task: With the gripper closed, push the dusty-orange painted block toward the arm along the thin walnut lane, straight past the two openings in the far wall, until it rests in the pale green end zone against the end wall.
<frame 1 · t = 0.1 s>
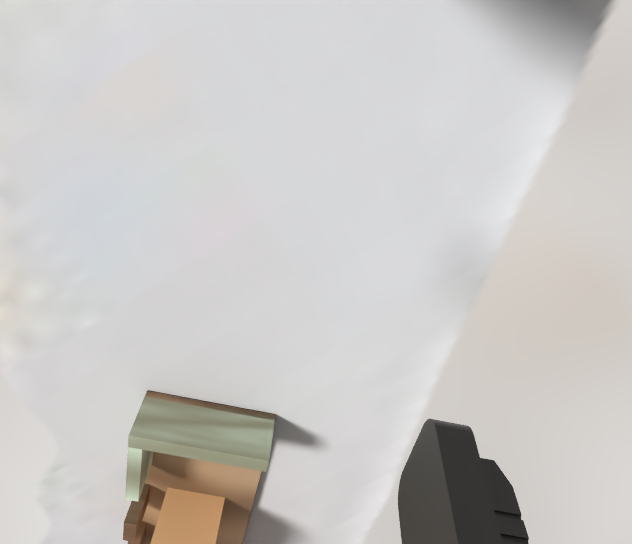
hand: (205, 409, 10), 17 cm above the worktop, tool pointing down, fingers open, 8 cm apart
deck: (198, 481, 39), on the worktop
block: (191, 521, 41), resting on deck
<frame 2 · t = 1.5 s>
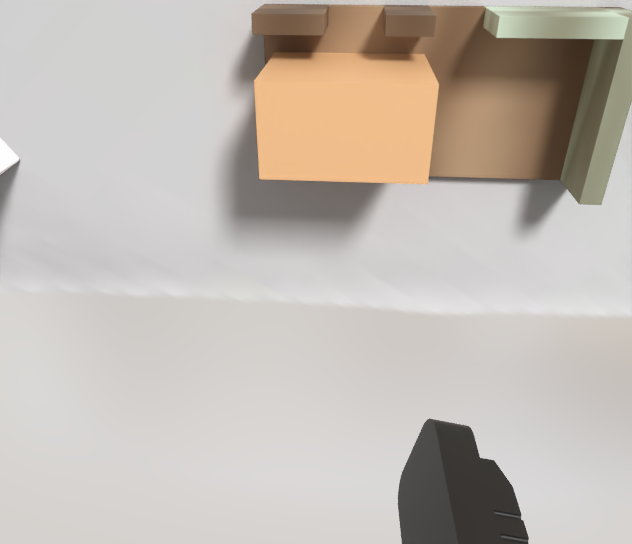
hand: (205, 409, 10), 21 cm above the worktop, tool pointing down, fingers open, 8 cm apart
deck: (429, 95, 28), on the worktop
block: (348, 96, 27), resting on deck
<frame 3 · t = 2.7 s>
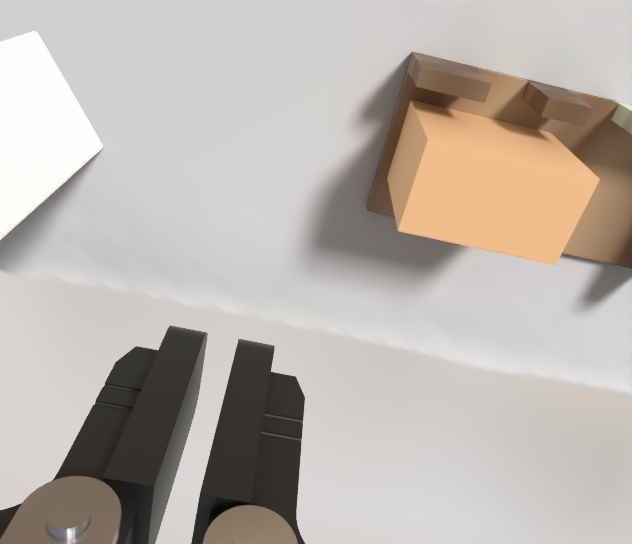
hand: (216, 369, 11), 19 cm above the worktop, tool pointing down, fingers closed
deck: (539, 169, 29), on the worktop
milk: (24, 111, 28), on the worktop
block: (466, 155, 28), resting on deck
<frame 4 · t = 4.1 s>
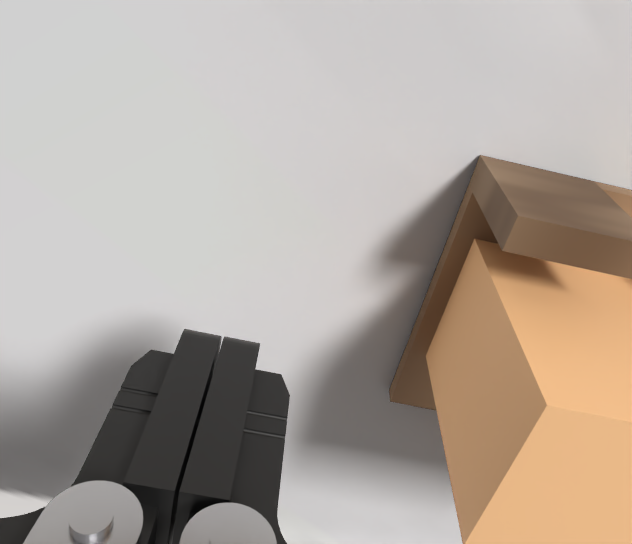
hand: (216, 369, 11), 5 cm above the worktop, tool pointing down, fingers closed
block: (567, 326, 16), resting on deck
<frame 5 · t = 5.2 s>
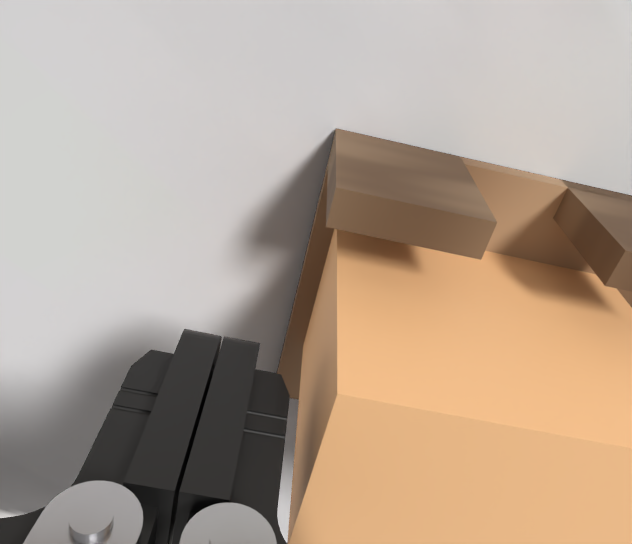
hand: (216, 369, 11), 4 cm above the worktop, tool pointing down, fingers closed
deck: (582, 330, 16), on the worktop
block: (447, 313, 15), resting on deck, touching gripper
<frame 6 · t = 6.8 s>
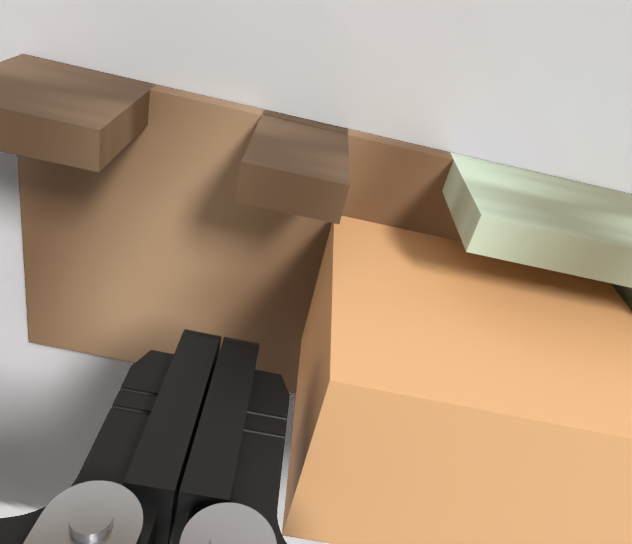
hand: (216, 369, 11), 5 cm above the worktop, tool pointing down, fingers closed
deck: (329, 274, 15), on the worktop
block: (444, 307, 15), resting on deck, touching gripper
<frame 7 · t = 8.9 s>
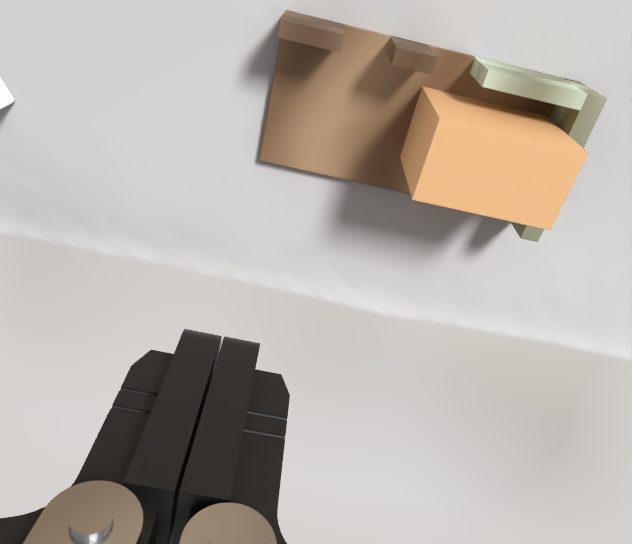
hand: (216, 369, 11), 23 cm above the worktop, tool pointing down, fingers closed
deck: (413, 121, 31), on the worktop
block: (471, 136, 31), resting on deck
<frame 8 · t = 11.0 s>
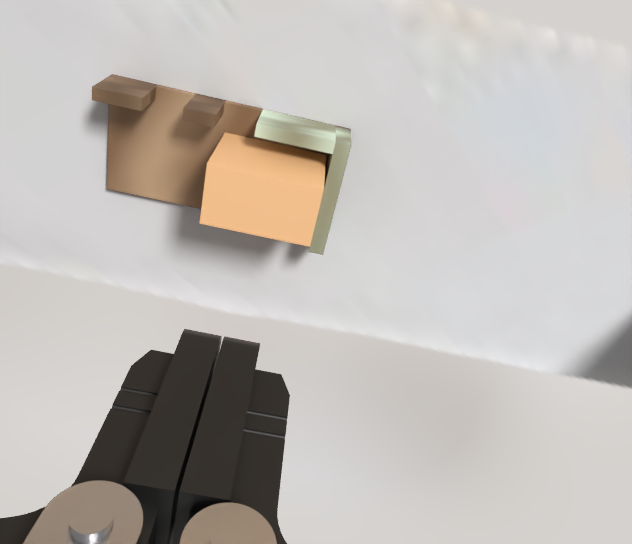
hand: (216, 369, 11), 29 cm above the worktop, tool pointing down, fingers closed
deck: (225, 158, 39), on the worktop
block: (270, 171, 39), resting on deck
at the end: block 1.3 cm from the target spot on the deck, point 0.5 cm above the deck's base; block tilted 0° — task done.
